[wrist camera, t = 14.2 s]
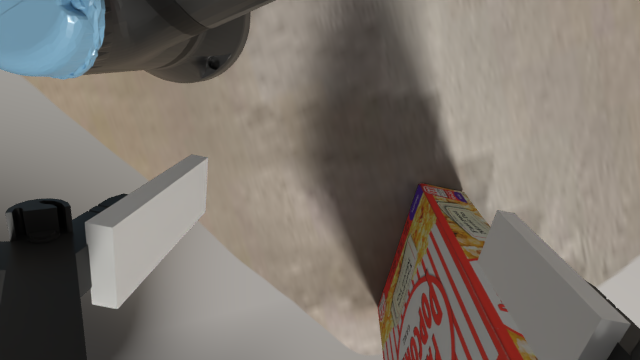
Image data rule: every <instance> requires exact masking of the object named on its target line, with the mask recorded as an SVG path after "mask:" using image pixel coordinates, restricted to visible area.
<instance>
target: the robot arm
mask: <svg viewBox="0 0 640 360" xmlns="http://www.w3.org/2000/svg"><path fill="white" fill-rule="evenodd" d="M273 1H275V0H0V69H2V70H4V71H7V72H11V73H15V74H18V75H25V76H44V77H52V78H59V79H67V78H76V77H78V76H81V75H88V74H100V73H113V72H125V71H137V70H145V71H146V72H148V73H150V74H152V75H154V76H156V77H158V78H161V79H164V80H167V81H171V82H177V83H194V82H200V81H205V80H209V79H212V78H214V77H216V76H218V75H220V74H222V73H223V72H225V71H226V70H227V69H228V68H230V67H231V66H232V65H233V63H234V62H235V61H236V60H237V58H238V57H239V55H240V54H241V52H242V50H243V48H244V46H245V43H246V40H247V37H248V33H249V27H250V12H251V11H253V10H255V9H257V8H260V7H262V6H264V5H266V4H269V3H271V2H273ZM207 169H208V157H202V156H197V155H190V156H188V157H187V158H185V159H184V160H182V161H180V162H179V163H177V164H176V165H174V166H173V167H171V168H169V169H168V170H166V171H165V172H163V173H162V174H160V175H158V176H157V177H155V178H154V179H152V180H151V181H149V182H147V183H146V184H144V185H143V186H141V187H140V188H138V189H136V190H135V191H133V192H132V193H130V194H129V195H128V194H121V195H118V196H115V197H111V198H108V199H107V200H105V201H103V202H102V203H100V204H99V205H98V206H95V207H93V208H92V209H90V210H89V212H88V211H87V212H85V213H83V214H82V215H80V216H78V217H77V218H75V219H73V220H72V216H71V209H70V208H71V207H70V205H69V203H68V202H65V201H63V200H59V199H36V200H29V201H25V202H22V203H19V204H16V205H14V206H12V207H10V208H9V209H8V210H7V211H6V213H5V215H6V221H7V226H8V232H9V237H10V242H0V360H87V356H86V346H85V337H84V328H83V319H82V309H81V300H80V297H81V296H83V295H84V294H85V293H86V292H87V291H88V290H89V289H90V288H91V296H92V304H94V305H99V306H105V307H109V308H115V309H118V308H119V307H120V306H121V305H122V303H123V302H124V301H125V300H126V299H127V298H128V297H129V296H130V295H131V294H132V292H133V291H134V290H135V289H136V288H137V287H138V286H139V285H140V283H141V282H142V281H143V280H144V279H145V278H146V277H147V276H148V275H149V274H150V273H151V271H152V270H153V269H154V268H155V267H156V266H157V265H158V264H159V263H160V261H161V260H162V259H163V258H164V257H165V256H166V255H167V254H168V253H169V252H170V250H171V249H172V248H173V247H174V246H175V245H176V243H178V242H179V241H180V239H181V238H182V237H183V236H184V235H185V234H186V233H187V231H189V230H190V228H191V227H192V226H193V225H194V224H195V223H196V222H197V221H198V220H199V218H200V217H201V216H202V215H203V214H204V213H205V210H206V190H207ZM477 263H478V264H479V266H480V268H481V269H482V271H483V272H484V274H485V276H486V277H487V279H488V280H489V282H490V284H491V285H492V287H493V288H494V290H495V292H496V293H497V295H498V296H499V298H500V300H501V301H502V303H503V304H504V306H505V308H506V309H507V311H508V312H509V314H510V316H511V317H512V319H513V320H514V322H515V324H516V325H517V327H518V328H519V330H520V332H521V333H522V335H523V336H524V338H525V340H526V341H527V343H528V344H529V346H530V348H531V349H532V351H533V352H534V354H535V356H536V357H537V359H538V360H640V329H639V328H638V327H637V326H636V325H635V324H634V323H633V322H632V321H631V320H630V319H629V318H628V317H627V316H625V314H623V313H622V312H621V311H620V310H619V309H618V308H616V307H615V305H614V304H613V303H612V302H611V301H610V300H608V299H606V297H605V296H604V295H603V294H602V293H601V292H600V291H599V290H598V289H597V288H596V287H595V286H593V285H592V284H590V283H589V282H587V281H586V280H584V279H583V278H582V277H581V276H580V275H579V274H578V273H577V272H576V271H575V270H574V269H572V268H571V267H570V266H569V265H568V264H567V263H566V262H565V261H564V260H563V259H562V258H561V257H560V256H559V255H558V254H557V253H556V252H555V251H554V250H553V249H551V248H550V247H549V246H548V245H547V244H546V243H545V242H544V241H543V240H542V239H541V238H540V237H539V236H538V235H537V234H536V233H535V232H534V231H533V230H531V229H530V228H529V227H528V226H527V225H526V224H525V223H524V222H523V221H522V220H521V219H520V218H519V217H518V216H517V215H516V214H515V213H510V212H505V211H499V210H497V212H496V215H495V217H494V220H493V222H492V225H491V228H490V230H489V233H488V235H487V238H486V240H485V243H484V246H483V248H482V251H481V253H480V256H479V258H478V261H477Z"/></svg>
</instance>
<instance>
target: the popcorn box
mask: <svg viewBox="0 0 640 360" xmlns="http://www.w3.org/2000/svg"><path fill="white" fill-rule="evenodd" d="M490 228H491V227H490V226H489V225H488V223H487V222H486V221H485V220H484V218H483V217H482V216H481V214H480V213H479V212H478V211H477V209H476V208H475V207H474V205H473V204H472V202H471V201H470V200H469V198H468V197H467V195H466V194H465V193H464V192H461V191H456V190H451V189H447V188H442V187H437V186H433V185H428V184H422V183H421V184H419V185H418V188H417V190H416V193H415V196H414V199H413V202H412V205H411V208H410V211H409V214H408V218H407V221H406V224H405V227H404V230H403V233H402V236H401V239H400V242H399V245H398V248H397V251H396V254H395V257H394V260H393V263H392V266H391V269H390V272H389V275H388V278H387V281H386V284H385V287H384V290H383V293H382V296H381V299H380V302H379V305H378V314H379V324H380V333H381V341H382V350H383V359H384V360H538V359H537V357H536V356H535V354H534V352H533V351H532V349H531V348H530V346H529V344H528V343H527V341H526V340H525V338H524V336H523V335H522V333H521V332H520V330H519V328H518V327H517V325H516V324H515V322H514V320H513V319H512V317H511V316H510V314H509V312H508V311H507V309H506V308H505V306H504V304H503V303H502V301H501V300H500V298H499V296H498V295H497V293H496V292H495V290H494V288H493V287H492V285H491V284H490V282H489V280H488V279H487V277H486V276H485V274H484V272H483V271H482V269H481V268H480V266H479V264H478V263H477V261H478V258H479V256H480V253H481V251H482V248H483V246H484V243H485V240H486V238H487V235H488V233H489V230H490Z"/></svg>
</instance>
